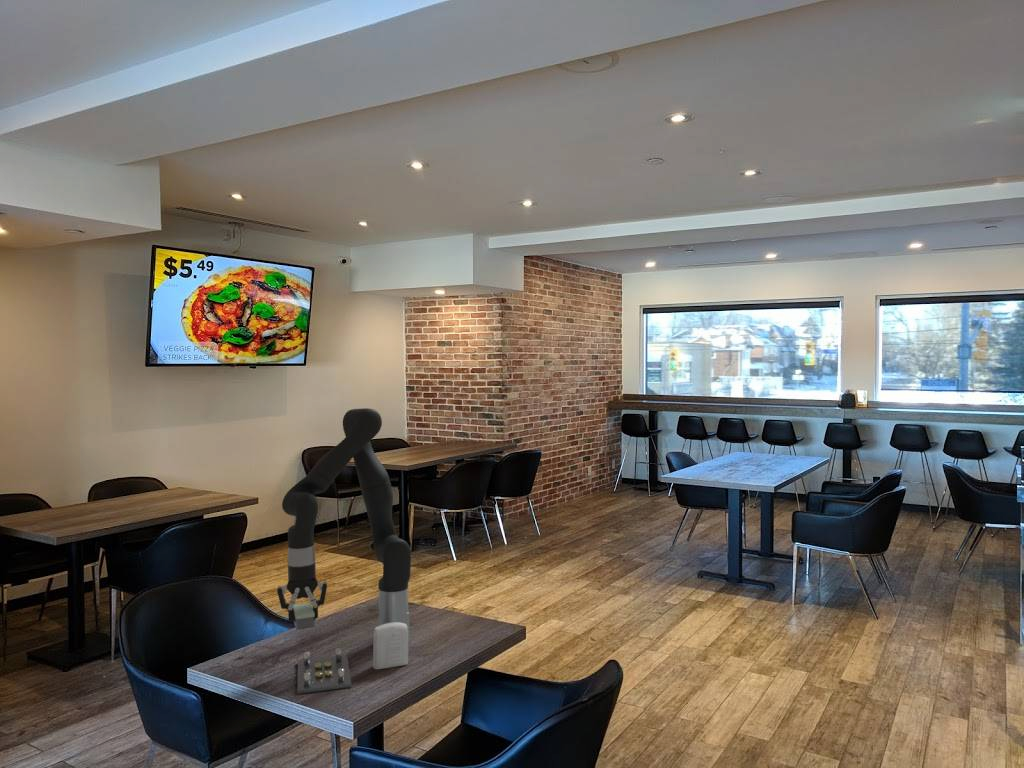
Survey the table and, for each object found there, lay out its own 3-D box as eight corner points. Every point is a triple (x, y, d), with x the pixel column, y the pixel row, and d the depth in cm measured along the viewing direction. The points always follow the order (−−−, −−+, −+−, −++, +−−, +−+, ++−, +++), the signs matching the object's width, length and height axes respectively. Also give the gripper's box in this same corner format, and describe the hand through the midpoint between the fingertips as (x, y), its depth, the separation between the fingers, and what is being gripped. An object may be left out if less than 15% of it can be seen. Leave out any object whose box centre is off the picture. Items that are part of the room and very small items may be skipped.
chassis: (346, 657, 215) (346, 644, 215) (351, 687, 195) (351, 672, 195) (297, 663, 211) (297, 649, 211) (297, 693, 191) (297, 679, 191)
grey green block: (310, 616, 210) (309, 602, 210) (314, 627, 201) (314, 613, 201) (292, 618, 208) (291, 605, 208) (296, 630, 199) (295, 615, 199)
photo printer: (406, 659, 213) (405, 618, 213) (410, 665, 210) (409, 622, 209) (371, 666, 209) (371, 623, 209) (375, 671, 205) (374, 628, 205)
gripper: (327, 556, 209) (329, 613, 210) (275, 560, 206) (277, 619, 206) (327, 562, 202) (329, 622, 203) (274, 567, 199) (276, 628, 199)
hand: (303, 620), depth 204 cm, fingers closed on grey green block, 5 cm apart
